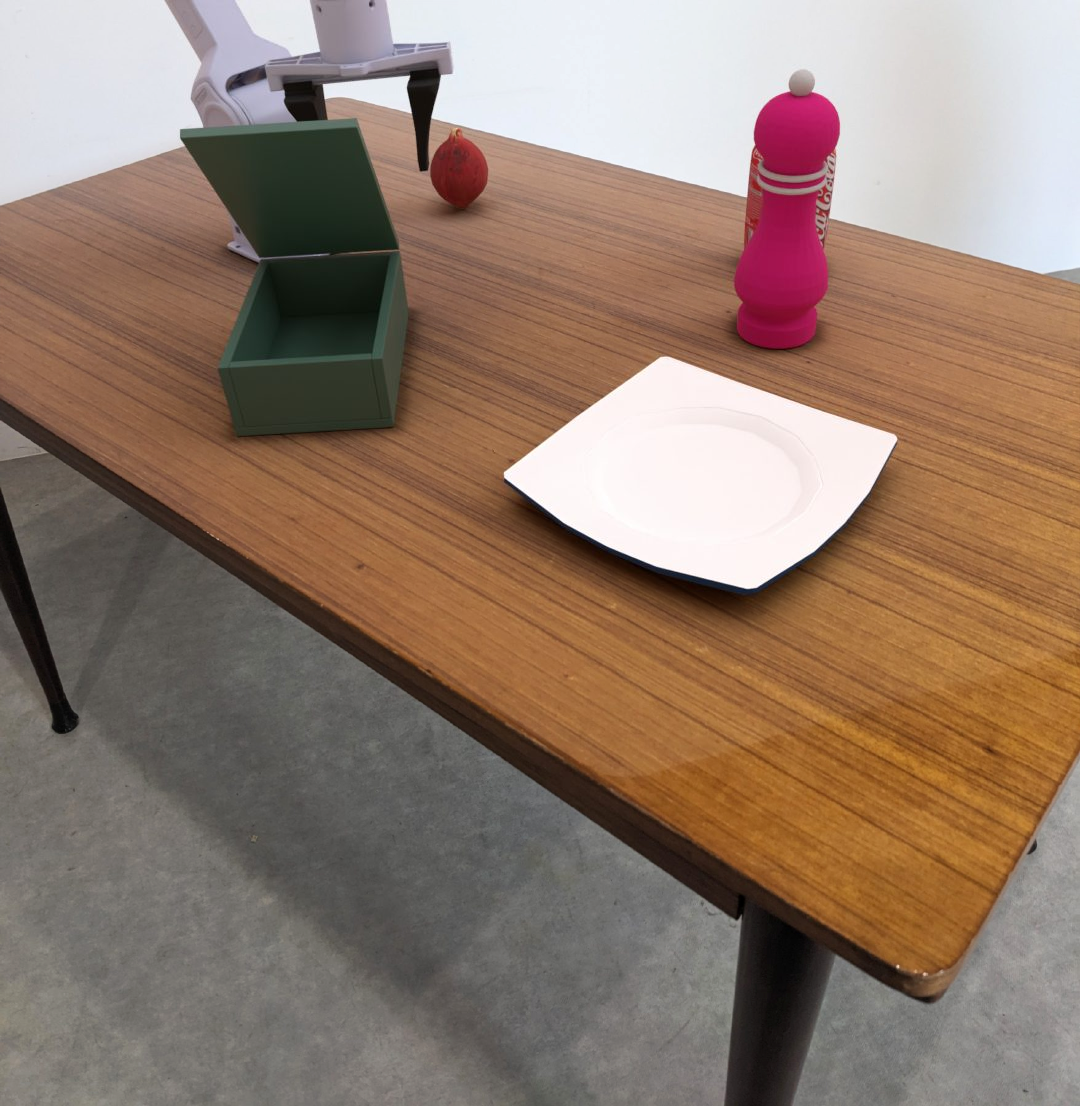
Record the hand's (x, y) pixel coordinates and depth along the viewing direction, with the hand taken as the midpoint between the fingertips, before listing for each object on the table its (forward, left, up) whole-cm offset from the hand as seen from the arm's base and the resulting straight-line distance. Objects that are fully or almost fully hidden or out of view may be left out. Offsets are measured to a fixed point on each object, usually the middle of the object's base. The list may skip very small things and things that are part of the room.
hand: (379, 171), depth 88 cm
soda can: (+25, +24, -11) cm, 36 cm away
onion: (-8, +16, -11) cm, 21 cm away
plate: (+39, -7, -11) cm, 41 cm away
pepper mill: (+31, +14, -11) cm, 36 cm away
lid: (+5, -11, +2) cm, 13 cm away
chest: (+7, -13, -10) cm, 18 cm away
